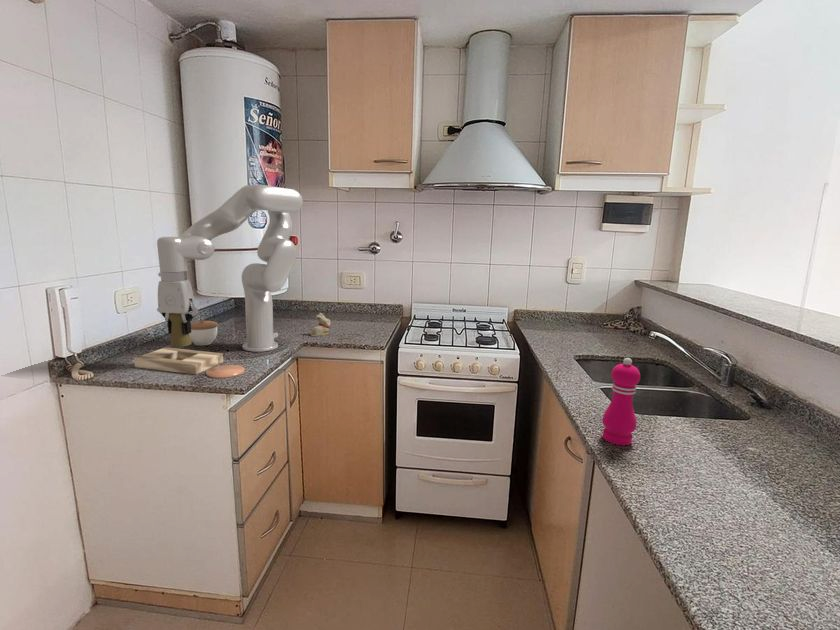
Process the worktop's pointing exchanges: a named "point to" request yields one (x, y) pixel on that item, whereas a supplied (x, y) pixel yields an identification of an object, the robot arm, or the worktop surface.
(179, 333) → the olive waisted cylinder
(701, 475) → the worktop surface
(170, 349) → the wooden tray
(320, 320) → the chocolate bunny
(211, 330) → the white bowl
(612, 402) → the pepper mill
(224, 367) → the coaster
